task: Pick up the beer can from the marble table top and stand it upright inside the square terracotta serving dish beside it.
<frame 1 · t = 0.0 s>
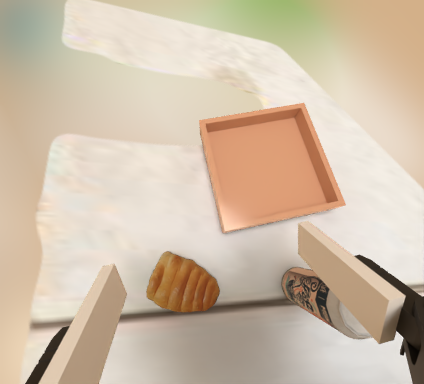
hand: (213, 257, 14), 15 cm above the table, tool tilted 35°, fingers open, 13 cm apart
pastry: (181, 280, 28), on the table
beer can: (296, 284, 28), on the table
terracotta dish: (262, 169, 32), on the table
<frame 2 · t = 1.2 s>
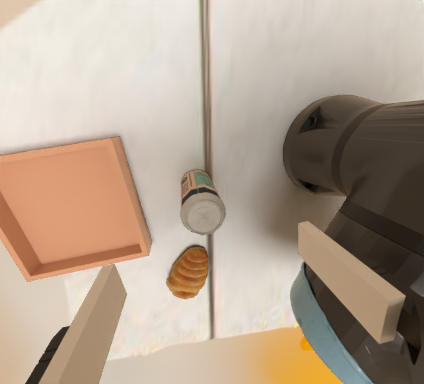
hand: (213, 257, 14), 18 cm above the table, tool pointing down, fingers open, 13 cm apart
pastry: (188, 267, 36), on the table
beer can: (196, 183, 31), on the table
terracotta dish: (78, 206, 29), on the table
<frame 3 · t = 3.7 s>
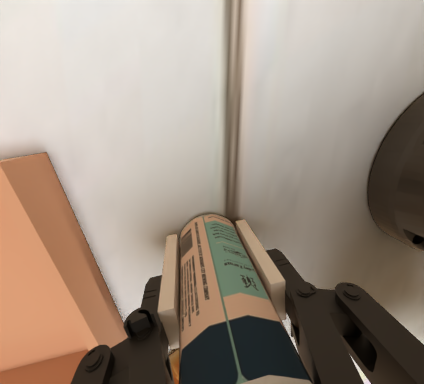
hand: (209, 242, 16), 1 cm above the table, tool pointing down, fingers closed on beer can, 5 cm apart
pastry: (186, 362, 22), on the table
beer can: (207, 235, 17), on the table, touching gripper
when the fingers open (3 cm above the table, at t = 10.1 s): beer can drops 1 cm, resting on terracotta dish.
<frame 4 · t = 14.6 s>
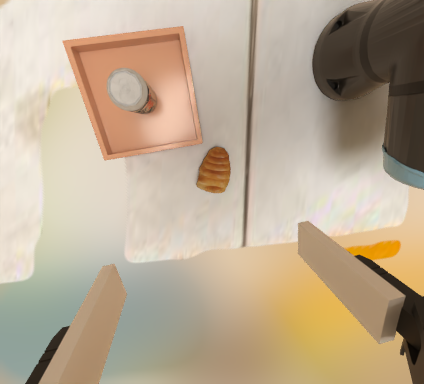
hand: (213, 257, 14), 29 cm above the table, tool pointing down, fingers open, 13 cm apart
pastry: (212, 171, 42), on the table
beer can: (143, 99, 34), point 1 cm above the table, touching terracotta dish
terracotta dish: (144, 100, 35), on the table
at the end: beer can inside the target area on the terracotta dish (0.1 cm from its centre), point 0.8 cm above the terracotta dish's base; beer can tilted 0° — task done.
